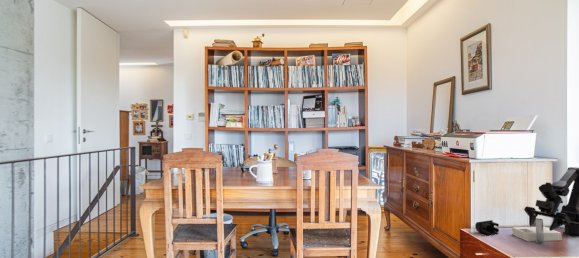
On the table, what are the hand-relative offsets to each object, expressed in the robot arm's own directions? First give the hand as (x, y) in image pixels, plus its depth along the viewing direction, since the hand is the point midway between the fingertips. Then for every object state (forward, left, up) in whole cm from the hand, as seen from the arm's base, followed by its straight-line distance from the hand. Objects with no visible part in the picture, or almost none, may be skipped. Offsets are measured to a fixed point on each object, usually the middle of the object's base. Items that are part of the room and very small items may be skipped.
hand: (539, 227), depth 159 cm
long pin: (0, 0, -8) cm, 8 cm away
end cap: (+16, -18, -8) cm, 26 cm away
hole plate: (-5, -9, -8) cm, 13 cm away
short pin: (-10, -17, -8) cm, 22 cm away
